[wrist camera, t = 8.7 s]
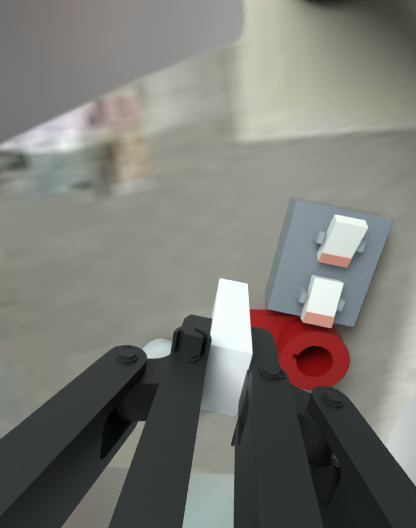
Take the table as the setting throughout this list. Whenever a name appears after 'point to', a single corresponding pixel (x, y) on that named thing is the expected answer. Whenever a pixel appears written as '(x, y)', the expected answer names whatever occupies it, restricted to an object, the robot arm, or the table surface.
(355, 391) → the table surface
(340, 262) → the rocker
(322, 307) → the rocker
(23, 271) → the table surface
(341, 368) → the lever
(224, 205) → the table surface
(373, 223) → the panel
